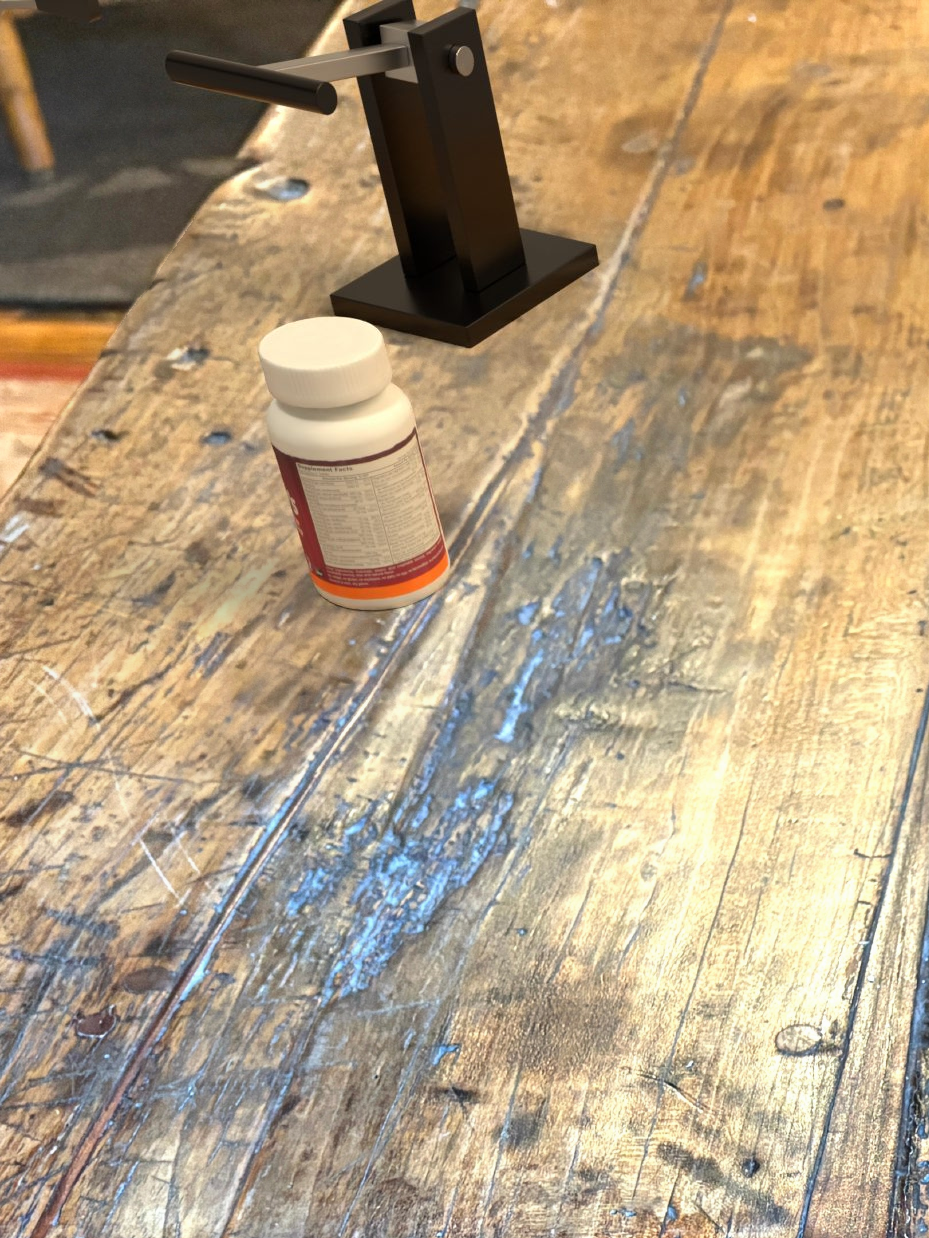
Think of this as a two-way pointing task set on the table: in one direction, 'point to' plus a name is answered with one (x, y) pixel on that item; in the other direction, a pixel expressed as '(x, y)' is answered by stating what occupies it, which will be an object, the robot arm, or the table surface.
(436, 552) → the pill bottle
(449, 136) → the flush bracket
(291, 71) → the flush lever
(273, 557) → the table surface
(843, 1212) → the table surface
